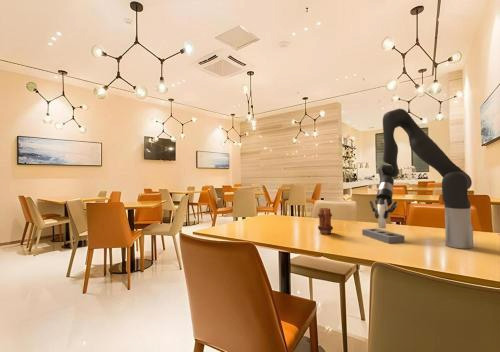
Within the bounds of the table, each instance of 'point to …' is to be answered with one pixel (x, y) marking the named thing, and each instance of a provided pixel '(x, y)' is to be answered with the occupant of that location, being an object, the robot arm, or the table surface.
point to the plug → (381, 215)
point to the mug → (325, 221)
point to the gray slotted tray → (383, 235)
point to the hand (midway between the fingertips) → (380, 217)
